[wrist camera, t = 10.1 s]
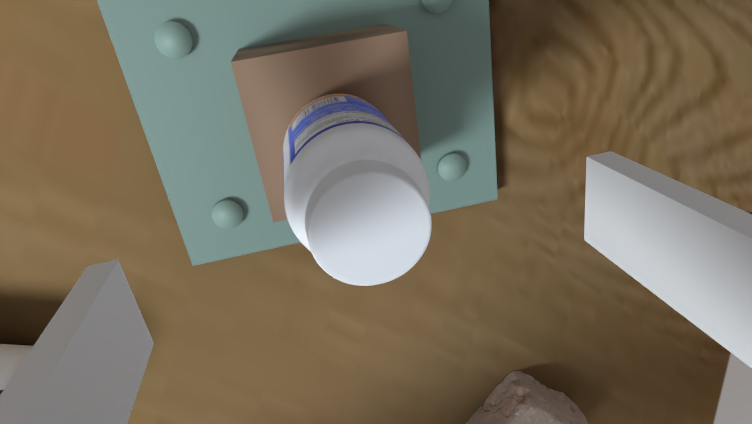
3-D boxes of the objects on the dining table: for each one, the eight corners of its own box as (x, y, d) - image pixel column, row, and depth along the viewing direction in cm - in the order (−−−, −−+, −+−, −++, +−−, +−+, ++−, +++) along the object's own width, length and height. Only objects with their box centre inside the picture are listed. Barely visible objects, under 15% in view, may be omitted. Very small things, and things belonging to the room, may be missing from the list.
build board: (195, 256, 32) (191, 269, 30) (99, -14, 25) (88, -15, 24) (490, 192, 34) (500, 201, 33) (476, -74, 27) (488, -78, 26)
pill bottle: (376, 206, 26) (427, 316, 17) (272, 187, 25) (270, 297, 16) (405, 105, 24) (479, 171, 15) (294, 78, 23) (306, 134, 14)
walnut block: (273, 187, 30) (273, 222, 25) (238, 49, 26) (230, 62, 22) (402, 160, 31) (424, 190, 26) (384, 23, 27) (406, 30, 23)
